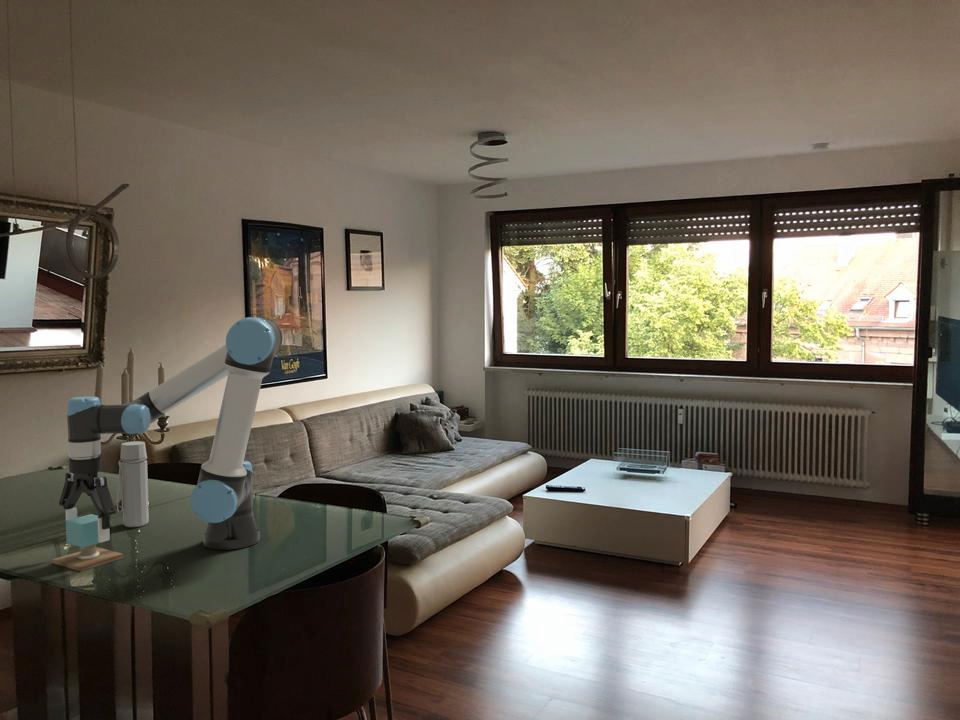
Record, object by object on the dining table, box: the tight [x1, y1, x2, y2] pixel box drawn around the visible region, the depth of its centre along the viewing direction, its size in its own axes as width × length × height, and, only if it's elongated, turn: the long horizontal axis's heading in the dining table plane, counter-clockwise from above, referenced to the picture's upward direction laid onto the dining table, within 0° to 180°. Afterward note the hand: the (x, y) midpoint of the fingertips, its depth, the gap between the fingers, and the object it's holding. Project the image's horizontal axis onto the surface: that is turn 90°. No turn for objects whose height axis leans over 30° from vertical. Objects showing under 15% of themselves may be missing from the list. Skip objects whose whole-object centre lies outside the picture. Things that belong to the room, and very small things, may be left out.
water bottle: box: [115, 440, 150, 528], centre depth 230 cm, size 9×8×25 cm
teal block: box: [65, 513, 100, 548], centre depth 198 cm, size 7×7×6 cm
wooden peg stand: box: [51, 544, 125, 572], centre depth 199 cm, size 12×12×10 cm
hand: (87, 537), depth 199 cm, fingers open, 13 cm apart
